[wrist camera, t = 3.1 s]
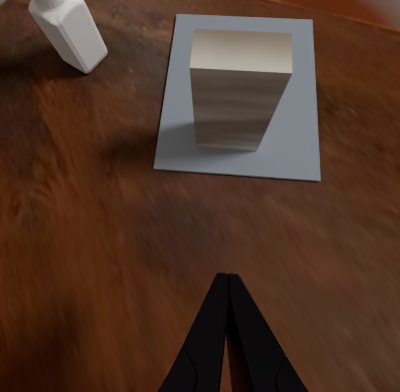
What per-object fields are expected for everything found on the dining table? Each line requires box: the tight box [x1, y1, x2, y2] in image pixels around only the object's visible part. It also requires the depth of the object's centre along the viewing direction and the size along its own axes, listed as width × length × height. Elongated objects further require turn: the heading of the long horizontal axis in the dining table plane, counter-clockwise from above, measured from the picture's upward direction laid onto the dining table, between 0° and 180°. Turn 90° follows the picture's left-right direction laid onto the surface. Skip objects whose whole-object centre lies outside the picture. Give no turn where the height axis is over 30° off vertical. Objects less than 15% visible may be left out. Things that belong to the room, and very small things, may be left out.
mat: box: [153, 14, 321, 182], centre depth 26 cm, size 20×16×1 cm
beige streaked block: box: [190, 29, 292, 151], centre depth 19 cm, size 3×6×10 cm, turn 85°
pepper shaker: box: [29, 0, 107, 74], centre depth 23 cm, size 4×4×10 cm
